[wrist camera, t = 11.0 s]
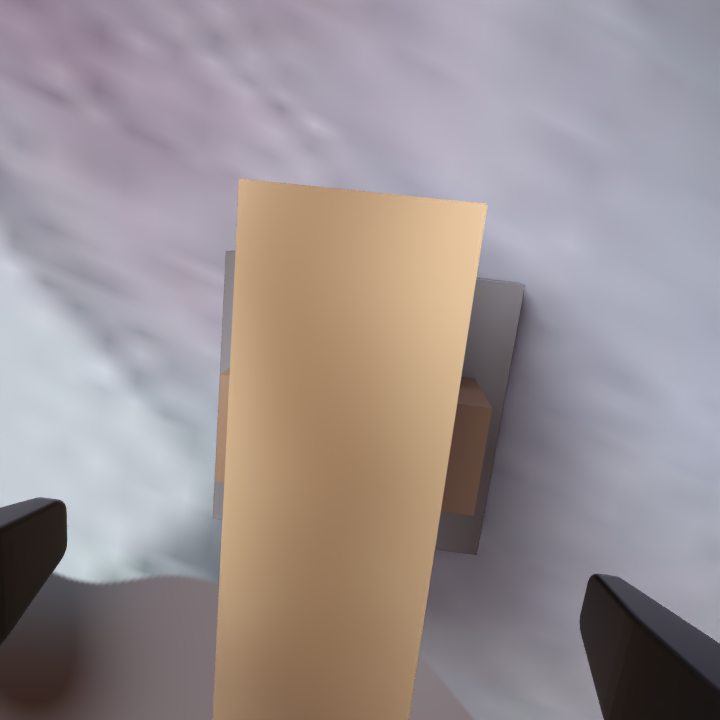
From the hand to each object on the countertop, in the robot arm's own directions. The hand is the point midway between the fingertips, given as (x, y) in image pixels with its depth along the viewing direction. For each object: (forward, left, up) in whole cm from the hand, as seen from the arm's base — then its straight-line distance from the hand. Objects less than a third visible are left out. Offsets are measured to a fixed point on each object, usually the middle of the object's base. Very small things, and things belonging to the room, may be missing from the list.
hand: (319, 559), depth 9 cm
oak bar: (0, 0, -5) cm, 5 cm away
